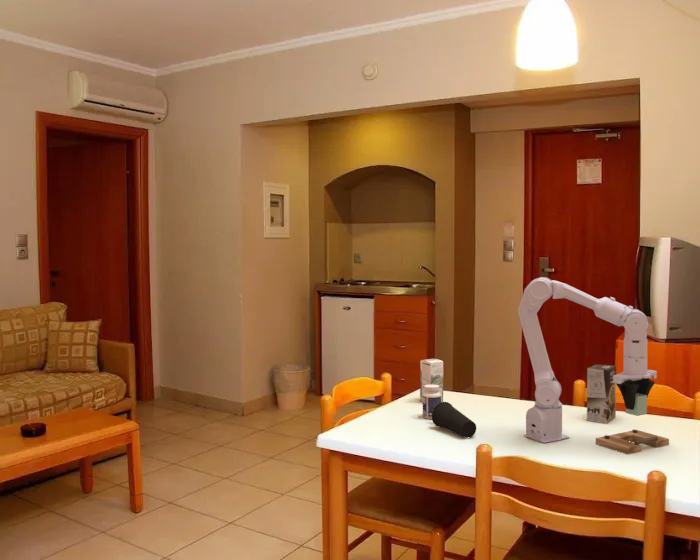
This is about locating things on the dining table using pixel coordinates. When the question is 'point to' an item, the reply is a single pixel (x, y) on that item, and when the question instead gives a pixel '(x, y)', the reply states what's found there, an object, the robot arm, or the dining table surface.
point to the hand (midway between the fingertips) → (635, 407)
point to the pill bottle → (430, 399)
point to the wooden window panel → (639, 437)
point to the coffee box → (601, 393)
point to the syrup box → (431, 375)
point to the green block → (639, 405)
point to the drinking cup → (452, 420)
